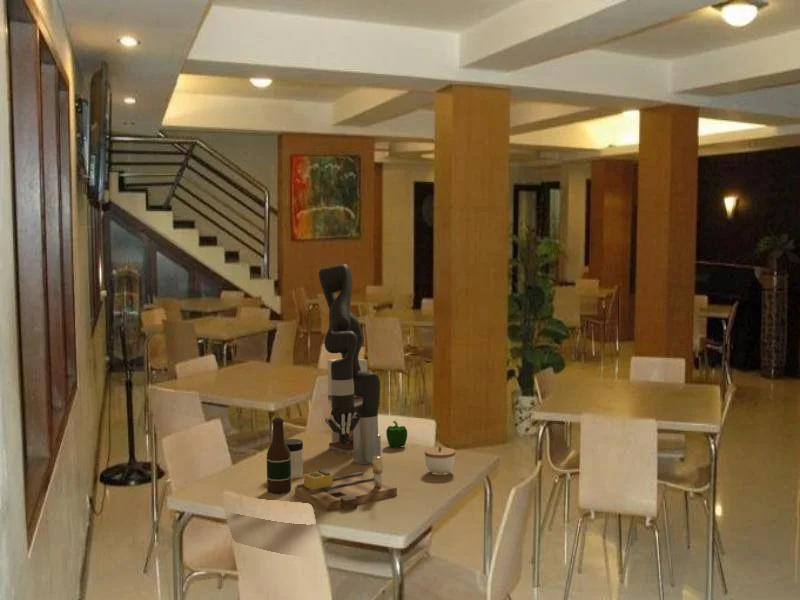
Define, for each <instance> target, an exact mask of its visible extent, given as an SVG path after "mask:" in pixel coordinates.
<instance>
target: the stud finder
mask: <svg viewBox="0 0 800 600" xmlns="http://www.w3.org/2000/svg"><path fill="white" fill-rule="evenodd" d="M333 478H334V477H333V474H332V473H331V472H329V471H326V470H324V469H318V470H317V471H314V472H310V473H309V472H308V473H303V480H304V481H303V484H304V487H306V488H309V489H311V490H313V489H318V488H323V487H328V486H332V485H333Z"/></svg>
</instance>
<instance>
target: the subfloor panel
mask: <svg viewBox="0 0 800 600" xmlns="http://www.w3.org/2000/svg"><path fill="white" fill-rule="evenodd" d="M381 483H382V488H380V489H375V488H374V476H370V475H366V474H365V473H364V472H363V471H360V472H354V473H351V474H345V475H340V476H334V477H333V485H332V486H328V487H323V488H318V489H313V490H311V489H309V488H306V487H304V483H299V484H296V487H294V495H295V496H296V497H298V498H300V499H302V500H304V501H306V502H308V503H310V504H312V505H314V506H316V507H318V508H320V509H322V510H324V511H326V512H329V511H332V510H338V509H343V510H345V511H348V510H354V509H358V505H359V504H364V503H368V502H373V501H377V500H381V499H387V498H390V497H391V498H392V497H394V496H398V487H397V486H394V485H391V484H389V483H386V482H384V481H382V480H381Z"/></svg>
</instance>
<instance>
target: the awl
mask: <svg viewBox="0 0 800 600" xmlns="http://www.w3.org/2000/svg"><path fill="white" fill-rule="evenodd" d="M372 473H373V477H374V488H375V489H380V488H382V483H381V481H382V474H383V456H382V455H381V456H373V463H372Z"/></svg>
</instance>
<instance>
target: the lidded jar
mask: <svg viewBox="0 0 800 600" xmlns="http://www.w3.org/2000/svg"><path fill="white" fill-rule="evenodd" d="M424 460H425V466H426V467H427V469H428V471H429V472H430V473H431V472H432V473H437V474H444V473H448V472H449V473H450V472H451V471H452V470H453V468H454V466H455V461H456V450H455V449H453V448H449V447H442V445H440V446H439V445H438V446H437V447H431V448H427V449H425V450H424ZM432 473H431V474H432ZM449 473H448V474H449Z"/></svg>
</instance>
